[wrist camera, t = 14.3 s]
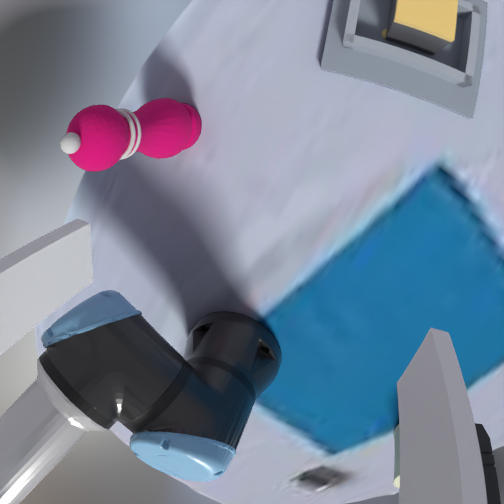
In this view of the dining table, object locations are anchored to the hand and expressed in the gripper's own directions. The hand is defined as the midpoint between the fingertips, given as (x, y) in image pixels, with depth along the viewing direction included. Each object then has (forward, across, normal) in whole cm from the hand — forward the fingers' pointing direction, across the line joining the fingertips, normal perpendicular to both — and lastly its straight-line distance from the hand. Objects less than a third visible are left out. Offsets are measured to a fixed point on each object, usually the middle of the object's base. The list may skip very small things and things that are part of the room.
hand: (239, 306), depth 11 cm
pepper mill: (+29, +18, -2) cm, 34 cm away
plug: (+27, -7, -20) cm, 34 cm away
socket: (+29, -7, -20) cm, 36 cm away
